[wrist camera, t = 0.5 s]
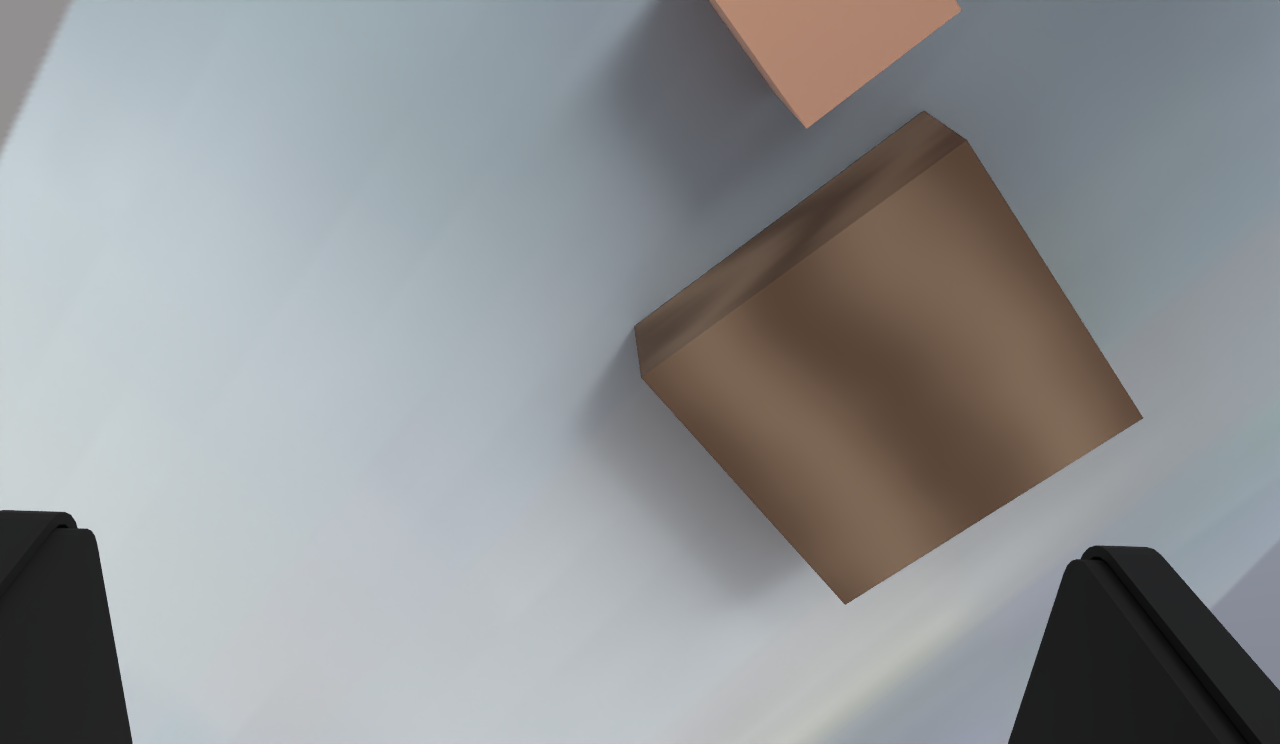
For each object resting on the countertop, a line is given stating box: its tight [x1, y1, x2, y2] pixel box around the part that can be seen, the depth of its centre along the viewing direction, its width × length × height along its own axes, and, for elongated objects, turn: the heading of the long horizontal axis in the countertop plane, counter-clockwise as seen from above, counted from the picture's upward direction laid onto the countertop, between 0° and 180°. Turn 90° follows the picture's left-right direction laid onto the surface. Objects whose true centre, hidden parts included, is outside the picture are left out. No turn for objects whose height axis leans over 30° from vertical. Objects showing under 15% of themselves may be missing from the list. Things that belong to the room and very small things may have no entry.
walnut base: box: [634, 111, 1143, 605], centre depth 35 cm, size 12×12×4 cm
